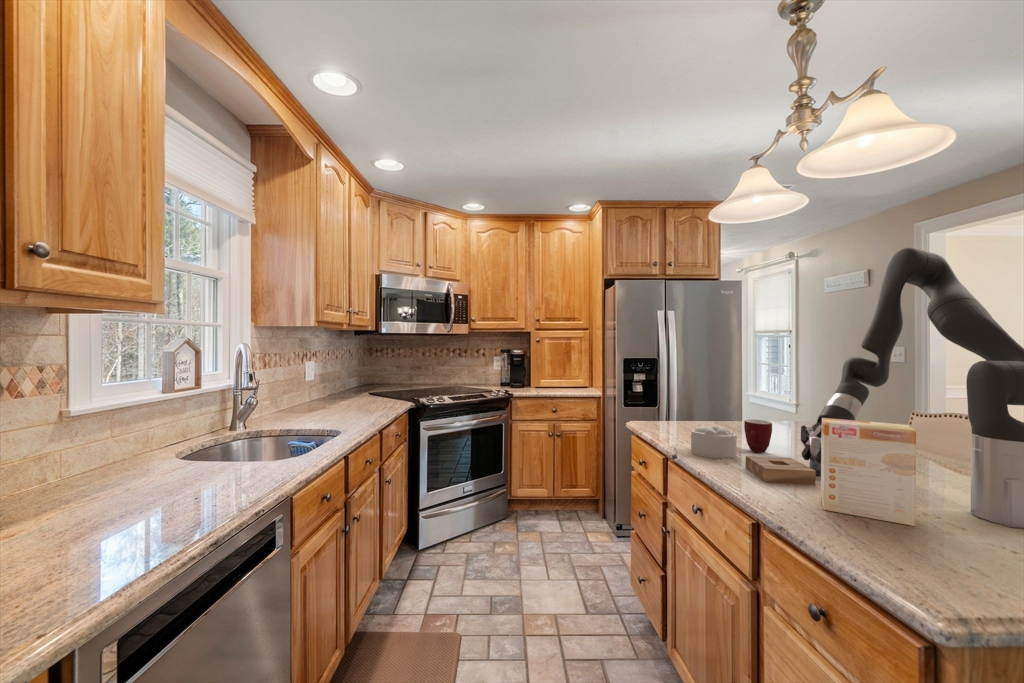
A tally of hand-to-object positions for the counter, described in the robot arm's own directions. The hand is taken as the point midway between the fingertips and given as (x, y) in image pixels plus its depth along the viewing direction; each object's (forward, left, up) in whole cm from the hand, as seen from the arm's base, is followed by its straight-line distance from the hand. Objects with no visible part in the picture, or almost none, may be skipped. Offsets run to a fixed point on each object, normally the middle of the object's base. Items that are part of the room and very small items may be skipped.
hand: (811, 459), depth 113 cm
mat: (+1, -2, -5) cm, 5 cm away
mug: (+25, +3, -5) cm, 26 cm away
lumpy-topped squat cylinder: (+20, +19, -5) cm, 28 cm away
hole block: (-2, +9, -5) cm, 11 cm away
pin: (+1, -2, -4) cm, 5 cm away
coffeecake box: (-24, +2, -5) cm, 25 cm away
